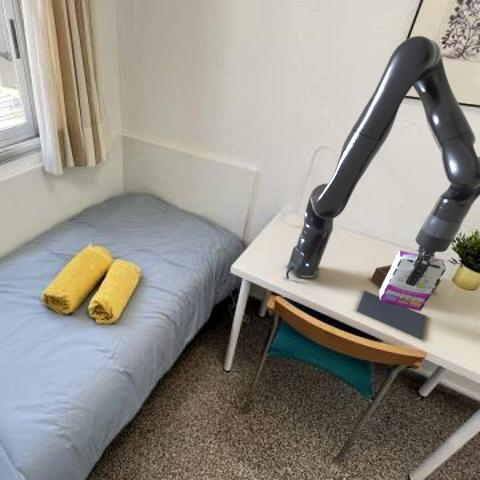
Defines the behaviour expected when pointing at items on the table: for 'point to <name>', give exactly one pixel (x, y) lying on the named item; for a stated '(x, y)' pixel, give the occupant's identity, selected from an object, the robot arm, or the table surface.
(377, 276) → the desk box
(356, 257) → the table surface
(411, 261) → the candy bar box
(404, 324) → the desk mat
